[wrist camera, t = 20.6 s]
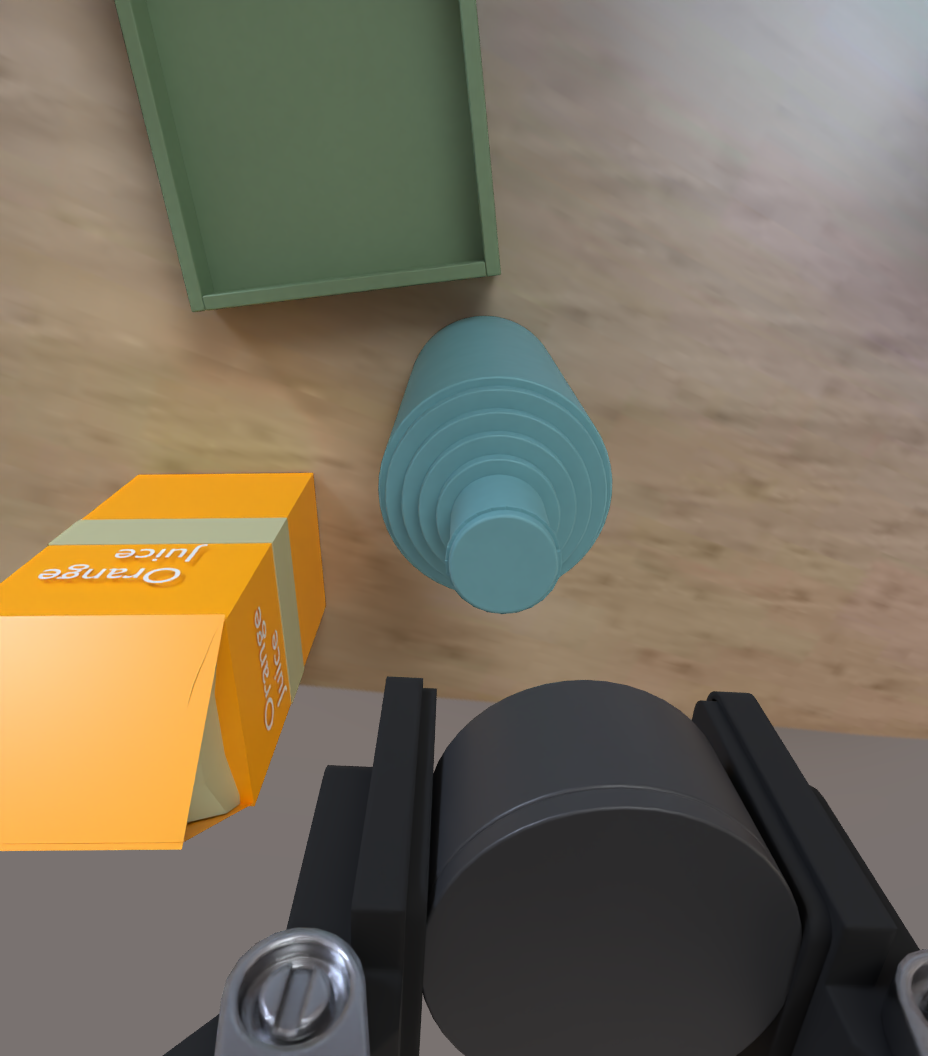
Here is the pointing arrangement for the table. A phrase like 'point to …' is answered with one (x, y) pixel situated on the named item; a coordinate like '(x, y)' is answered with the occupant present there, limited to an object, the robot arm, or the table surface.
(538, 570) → the bottle
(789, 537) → the table surface
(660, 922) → the cap
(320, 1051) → the robot arm
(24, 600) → the orange juice
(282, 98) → the tray
